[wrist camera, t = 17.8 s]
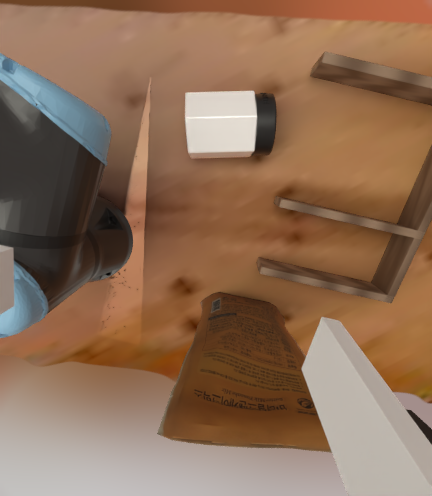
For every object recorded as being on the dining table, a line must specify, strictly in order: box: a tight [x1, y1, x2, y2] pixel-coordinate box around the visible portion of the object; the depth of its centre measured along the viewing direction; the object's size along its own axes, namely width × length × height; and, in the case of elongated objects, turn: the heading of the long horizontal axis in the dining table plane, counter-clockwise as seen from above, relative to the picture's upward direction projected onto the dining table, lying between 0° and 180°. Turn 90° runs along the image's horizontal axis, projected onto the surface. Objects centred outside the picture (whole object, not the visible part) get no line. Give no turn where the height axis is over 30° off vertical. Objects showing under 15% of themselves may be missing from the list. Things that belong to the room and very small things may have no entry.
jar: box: [185, 91, 276, 158], centre depth 37 cm, size 9×8×12 cm
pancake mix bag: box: [157, 292, 332, 453], centre depth 36 cm, size 7×19×28 cm, turn 79°
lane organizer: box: [257, 52, 432, 303], centre depth 40 cm, size 22×32×5 cm
